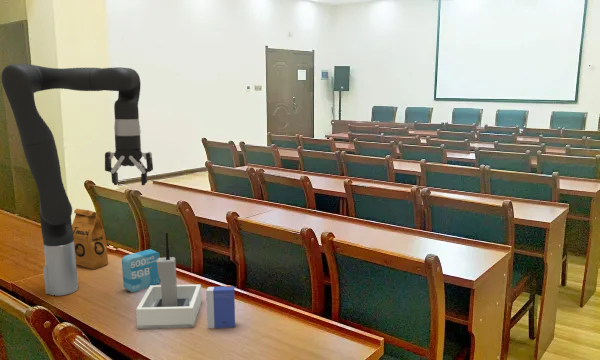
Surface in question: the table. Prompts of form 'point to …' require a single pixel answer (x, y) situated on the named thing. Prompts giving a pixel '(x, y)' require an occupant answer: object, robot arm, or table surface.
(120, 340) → the table surface
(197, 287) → the box
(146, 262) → the data package
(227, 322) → the walkman
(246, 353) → the table surface
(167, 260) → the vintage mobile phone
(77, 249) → the coffee package
